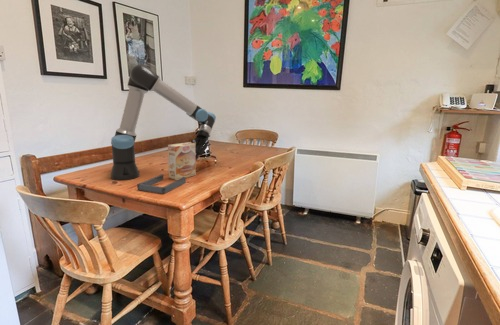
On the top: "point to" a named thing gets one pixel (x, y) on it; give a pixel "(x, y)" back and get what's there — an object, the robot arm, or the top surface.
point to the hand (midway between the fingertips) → (191, 163)
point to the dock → (162, 190)
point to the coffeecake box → (181, 160)
